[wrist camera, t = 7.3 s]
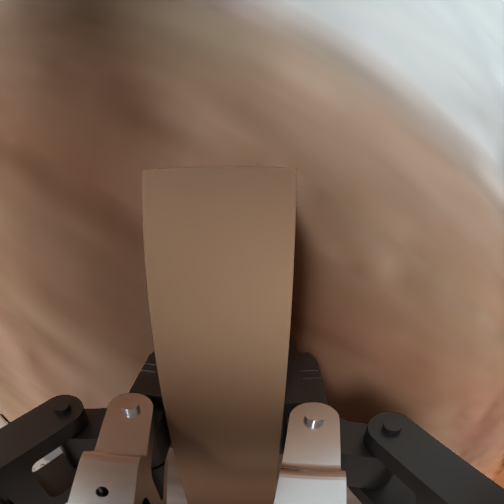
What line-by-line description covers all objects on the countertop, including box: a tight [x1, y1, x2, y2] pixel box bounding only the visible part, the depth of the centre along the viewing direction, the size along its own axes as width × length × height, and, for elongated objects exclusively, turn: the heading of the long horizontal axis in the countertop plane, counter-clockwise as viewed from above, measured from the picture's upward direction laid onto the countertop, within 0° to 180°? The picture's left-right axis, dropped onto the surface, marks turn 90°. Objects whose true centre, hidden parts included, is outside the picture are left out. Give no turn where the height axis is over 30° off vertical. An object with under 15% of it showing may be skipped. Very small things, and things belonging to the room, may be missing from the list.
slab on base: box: [66, 167, 362, 504], centre depth 9 cm, size 14×14×6 cm
